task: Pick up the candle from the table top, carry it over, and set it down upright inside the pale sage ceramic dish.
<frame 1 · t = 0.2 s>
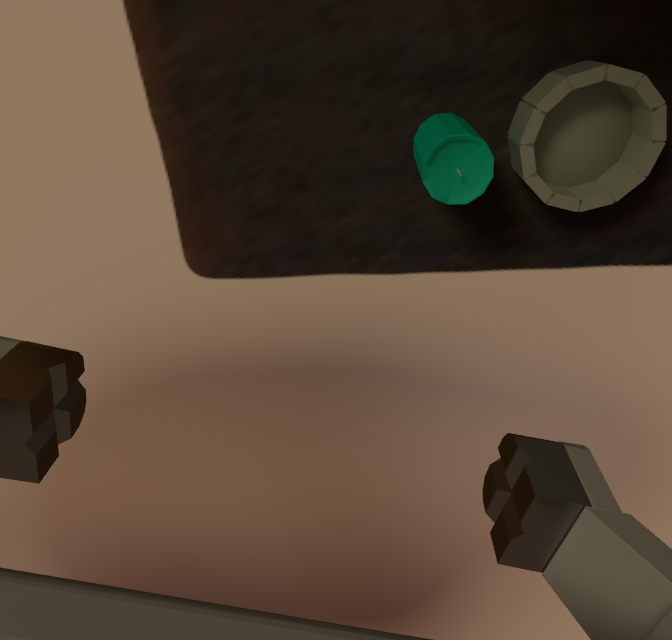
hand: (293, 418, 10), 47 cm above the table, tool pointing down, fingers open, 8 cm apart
dish: (574, 133, 51), on the table
candle: (442, 143, 53), on the table
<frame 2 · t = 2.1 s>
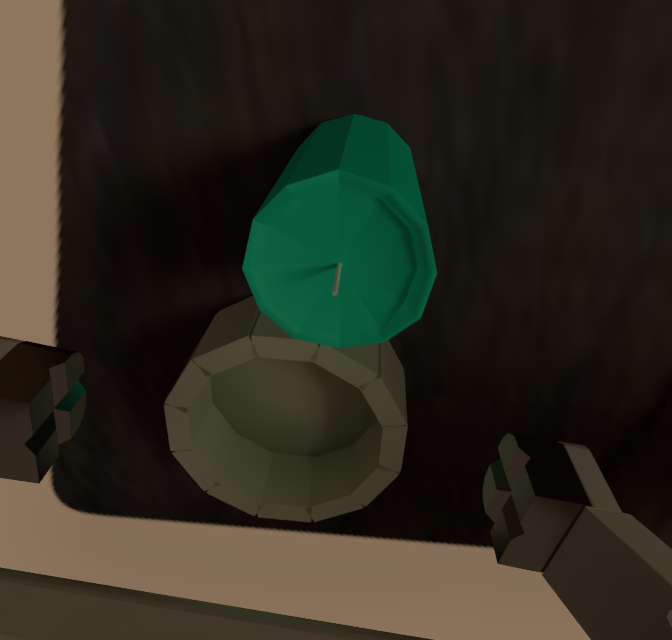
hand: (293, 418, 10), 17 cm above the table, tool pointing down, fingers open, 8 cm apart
dish: (297, 383, 32), on the table
candle: (353, 179, 25), on the table
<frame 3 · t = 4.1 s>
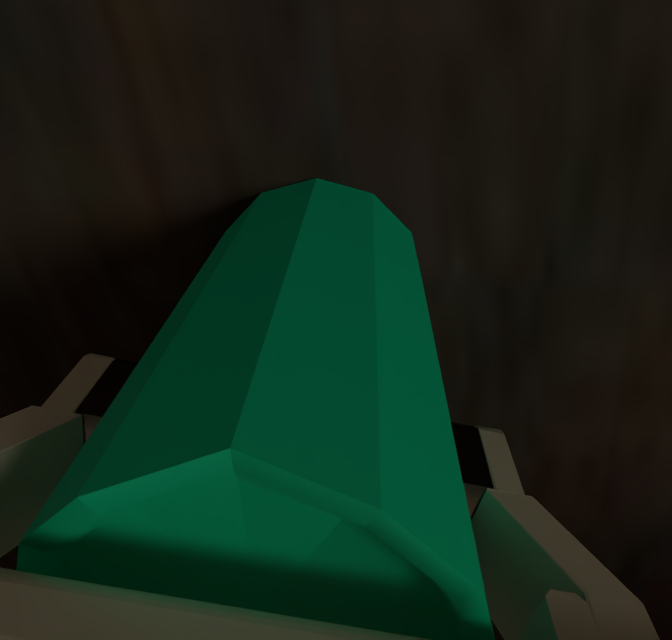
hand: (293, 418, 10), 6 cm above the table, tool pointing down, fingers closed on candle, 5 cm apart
candle: (319, 277, 16), on the table, touching gripper
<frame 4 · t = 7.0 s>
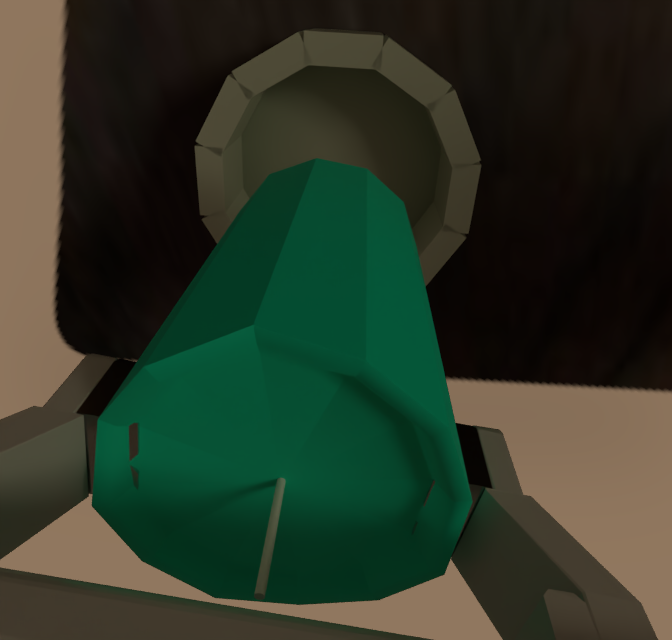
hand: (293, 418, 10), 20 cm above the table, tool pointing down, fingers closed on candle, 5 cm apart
dish: (340, 164, 28), on the table
candle: (325, 248, 18), point 12 cm above the table, touching gripper
when the fingers open (9 cm above the table, at t = 9.8 s): candle stays where it is, resting on dish.
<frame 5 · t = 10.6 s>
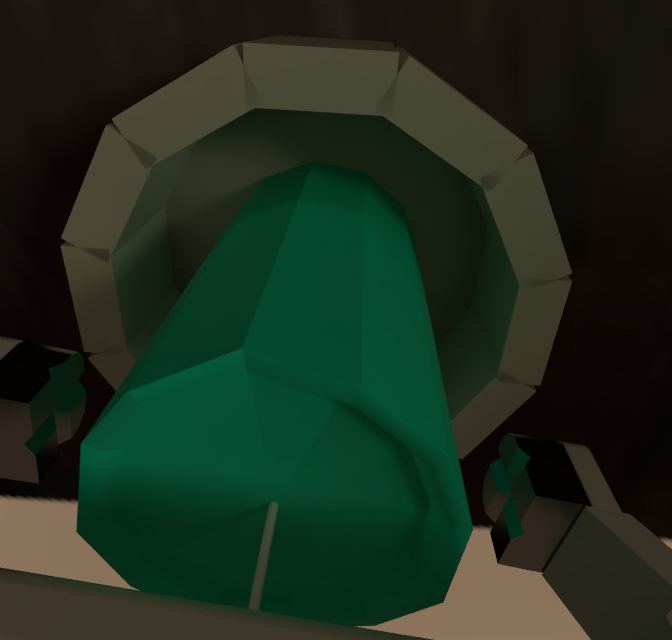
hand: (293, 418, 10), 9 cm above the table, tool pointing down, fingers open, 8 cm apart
dish: (325, 247, 18), on the table
candle: (322, 253, 17), point 1 cm above the table, touching dish
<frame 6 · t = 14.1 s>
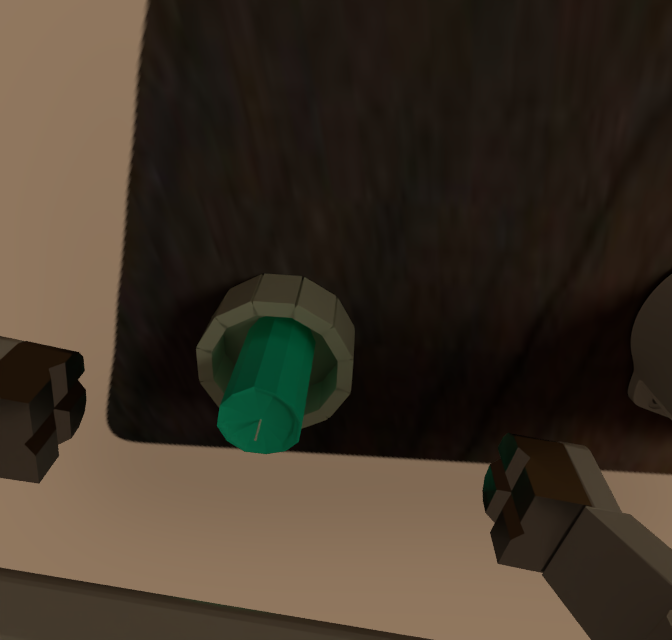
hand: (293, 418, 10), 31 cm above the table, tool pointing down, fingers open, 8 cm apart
dish: (283, 339, 46), on the table
candle: (281, 342, 46), point 1 cm above the table, touching dish
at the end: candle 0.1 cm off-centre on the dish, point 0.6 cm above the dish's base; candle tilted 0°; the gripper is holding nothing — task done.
